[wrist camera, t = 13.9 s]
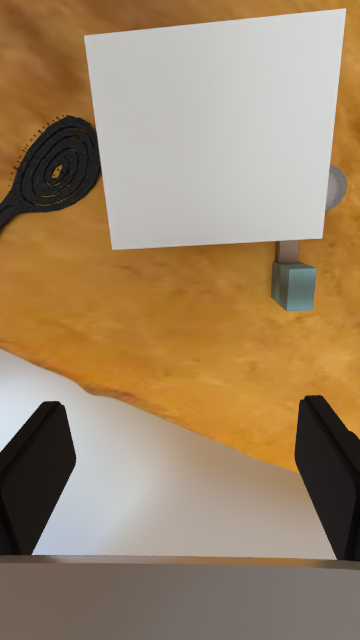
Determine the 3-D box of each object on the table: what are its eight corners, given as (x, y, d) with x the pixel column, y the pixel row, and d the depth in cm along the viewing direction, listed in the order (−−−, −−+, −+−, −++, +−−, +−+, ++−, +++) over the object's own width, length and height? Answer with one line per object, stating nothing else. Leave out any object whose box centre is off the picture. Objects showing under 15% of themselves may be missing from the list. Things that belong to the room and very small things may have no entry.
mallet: (278, 146, 34) (299, 128, 27) (304, 145, 34) (331, 125, 27) (271, 296, 40) (286, 311, 33) (292, 296, 40) (312, 310, 33)
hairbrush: (-72, 226, 36) (65, 89, 30) (-48, 225, 40) (79, 102, 33) (-24, 278, 38) (112, 161, 32) (-6, 273, 42) (121, 166, 35)
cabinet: (132, 119, 34) (84, 35, 19) (276, 107, 32) (347, 8, 18) (144, 240, 38) (112, 250, 23) (270, 232, 37) (323, 238, 22)
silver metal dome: (293, 178, 35) (299, 175, 33) (334, 162, 34) (342, 158, 32) (302, 217, 36) (308, 217, 35) (341, 203, 36) (349, 201, 34)
